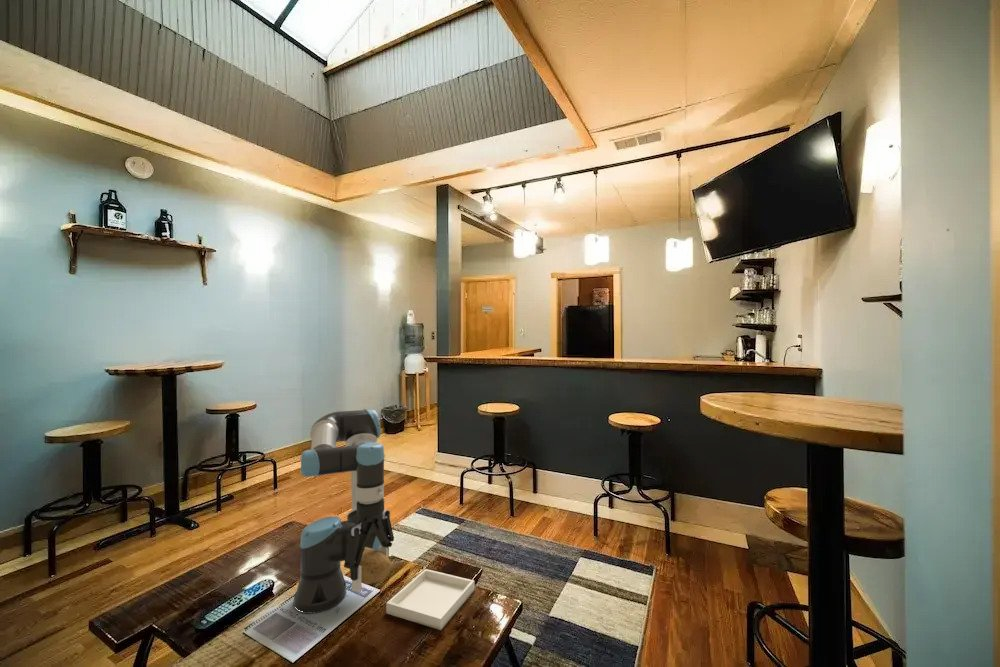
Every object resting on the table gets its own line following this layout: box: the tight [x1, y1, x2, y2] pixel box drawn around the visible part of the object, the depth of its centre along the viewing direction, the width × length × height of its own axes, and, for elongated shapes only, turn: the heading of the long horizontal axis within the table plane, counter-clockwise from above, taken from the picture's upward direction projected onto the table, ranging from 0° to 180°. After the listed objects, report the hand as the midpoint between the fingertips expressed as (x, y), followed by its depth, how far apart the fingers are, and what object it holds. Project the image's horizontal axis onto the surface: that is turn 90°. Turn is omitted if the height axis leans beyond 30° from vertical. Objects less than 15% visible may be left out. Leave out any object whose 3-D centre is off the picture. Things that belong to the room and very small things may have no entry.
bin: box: [385, 568, 476, 631], centre depth 122 cm, size 19×20×3 cm
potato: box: [355, 547, 392, 585], centre depth 111 cm, size 10×14×8 cm
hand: (370, 579), depth 111 cm, fingers closed on potato, 10 cm apart
